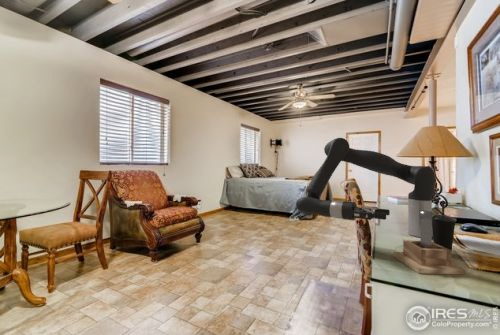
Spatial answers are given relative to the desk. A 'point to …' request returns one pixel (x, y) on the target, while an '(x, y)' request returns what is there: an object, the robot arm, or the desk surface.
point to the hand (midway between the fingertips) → (387, 214)
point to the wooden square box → (427, 259)
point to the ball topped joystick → (426, 229)
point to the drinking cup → (443, 229)
